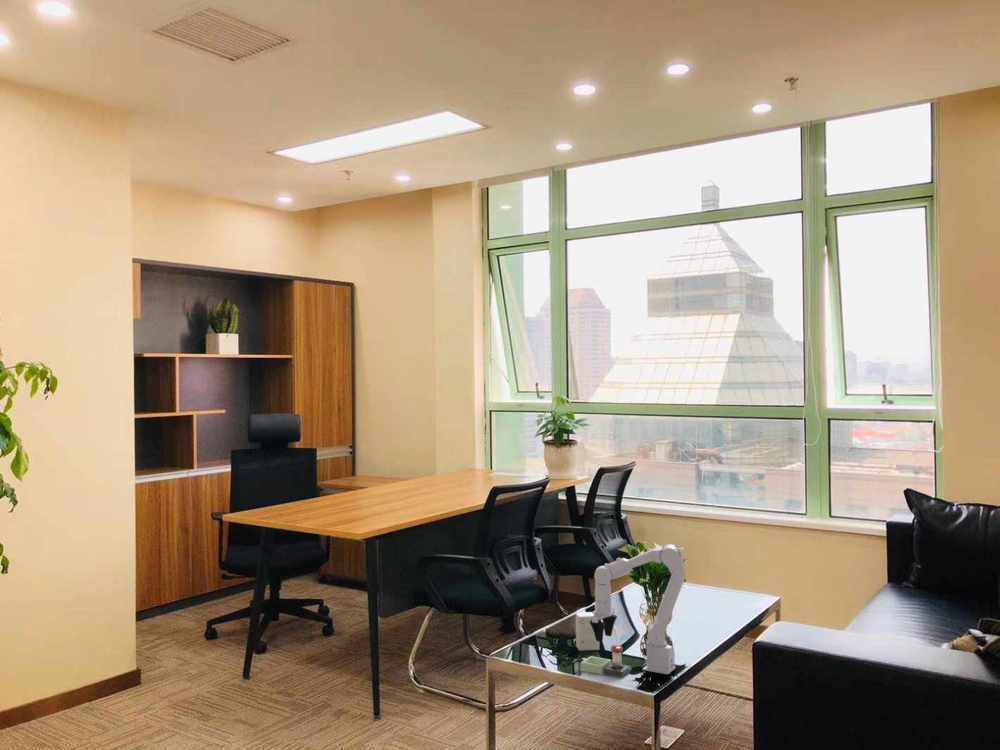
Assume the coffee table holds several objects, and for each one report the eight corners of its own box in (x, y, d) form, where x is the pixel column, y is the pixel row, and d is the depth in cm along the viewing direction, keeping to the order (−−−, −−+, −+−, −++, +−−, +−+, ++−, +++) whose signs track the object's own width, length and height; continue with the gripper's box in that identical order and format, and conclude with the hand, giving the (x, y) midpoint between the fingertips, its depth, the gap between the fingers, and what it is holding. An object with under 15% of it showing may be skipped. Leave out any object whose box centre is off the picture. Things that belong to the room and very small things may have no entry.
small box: (596, 645, 320) (595, 611, 320) (599, 650, 313) (599, 615, 314) (575, 645, 319) (575, 612, 319) (578, 650, 312) (578, 616, 313)
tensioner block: (630, 671, 288) (630, 666, 288) (622, 677, 282) (622, 671, 282) (612, 668, 292) (612, 662, 292) (603, 674, 286) (603, 668, 286)
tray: (611, 667, 292) (611, 659, 292) (601, 674, 286) (601, 666, 286) (591, 664, 297) (590, 656, 297) (581, 670, 290) (581, 662, 290)
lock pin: (624, 672, 287) (624, 646, 288) (620, 675, 284) (619, 649, 284) (614, 670, 290) (613, 644, 290) (609, 673, 286) (609, 647, 286)
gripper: (601, 594, 303) (602, 631, 303) (584, 603, 291) (584, 641, 291) (619, 597, 300) (620, 634, 299) (602, 605, 287) (602, 644, 287)
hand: (603, 638), depth 295 cm, fingers open, 7 cm apart
